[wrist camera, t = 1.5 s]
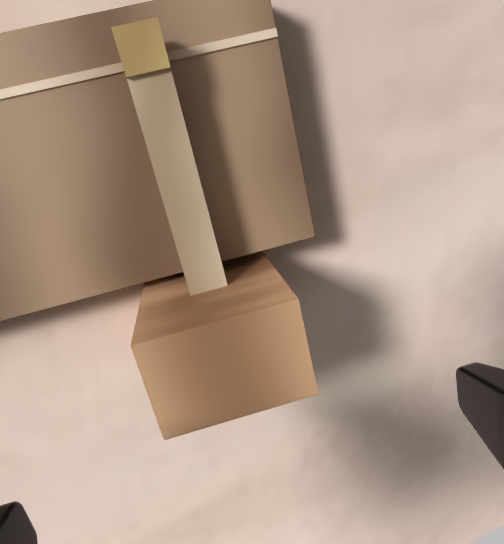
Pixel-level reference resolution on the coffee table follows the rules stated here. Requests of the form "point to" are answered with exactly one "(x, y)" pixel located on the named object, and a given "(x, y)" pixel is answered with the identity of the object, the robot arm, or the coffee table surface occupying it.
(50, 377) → the coffee table surface
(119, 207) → the board
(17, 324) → the coffee table surface
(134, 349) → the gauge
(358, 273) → the coffee table surface
